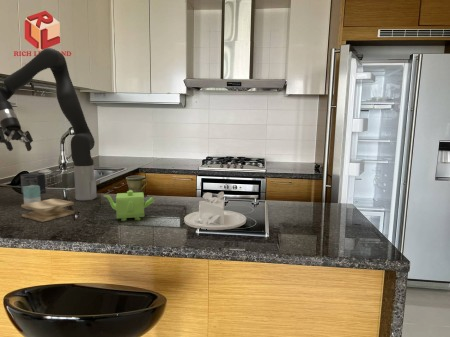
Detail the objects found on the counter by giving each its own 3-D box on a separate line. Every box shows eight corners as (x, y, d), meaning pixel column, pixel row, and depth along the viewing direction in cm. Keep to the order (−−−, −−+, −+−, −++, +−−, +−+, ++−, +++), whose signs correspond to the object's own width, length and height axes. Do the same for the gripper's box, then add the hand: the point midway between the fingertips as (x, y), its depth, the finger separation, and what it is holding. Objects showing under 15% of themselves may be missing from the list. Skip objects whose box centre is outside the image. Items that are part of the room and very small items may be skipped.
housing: (35, 206, 152) (33, 184, 150) (41, 207, 149) (39, 185, 148) (24, 208, 147) (22, 186, 146) (30, 209, 145) (29, 187, 144)
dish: (178, 215, 139) (177, 189, 137) (232, 210, 148) (232, 186, 146) (193, 233, 116) (193, 202, 114) (256, 226, 125) (257, 197, 123)
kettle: (103, 219, 131) (102, 192, 129) (129, 211, 143) (128, 186, 142) (132, 225, 124) (131, 196, 123) (156, 216, 136) (155, 190, 135)
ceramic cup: (122, 196, 174) (121, 177, 173) (135, 192, 183) (135, 175, 182) (141, 198, 168) (140, 179, 167) (153, 195, 177) (153, 177, 176)
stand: (54, 209, 146) (53, 198, 145) (74, 213, 139) (73, 202, 139) (22, 216, 134) (21, 204, 133) (42, 221, 127) (41, 209, 127)
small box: (46, 192, 183) (45, 173, 182) (39, 194, 177) (37, 175, 176) (29, 191, 184) (27, 173, 183) (20, 193, 178) (19, 174, 177)
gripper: (-4, 115, 148) (9, 145, 145) (27, 118, 161) (39, 146, 158) (-12, 124, 151) (0, 154, 148) (19, 126, 164) (31, 154, 161)
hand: (20, 150), depth 153 cm, fingers open, 8 cm apart
